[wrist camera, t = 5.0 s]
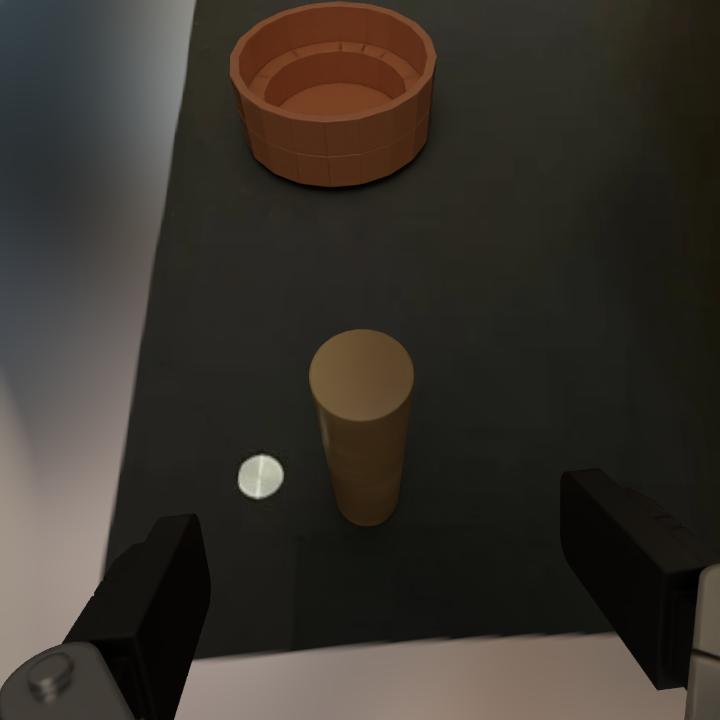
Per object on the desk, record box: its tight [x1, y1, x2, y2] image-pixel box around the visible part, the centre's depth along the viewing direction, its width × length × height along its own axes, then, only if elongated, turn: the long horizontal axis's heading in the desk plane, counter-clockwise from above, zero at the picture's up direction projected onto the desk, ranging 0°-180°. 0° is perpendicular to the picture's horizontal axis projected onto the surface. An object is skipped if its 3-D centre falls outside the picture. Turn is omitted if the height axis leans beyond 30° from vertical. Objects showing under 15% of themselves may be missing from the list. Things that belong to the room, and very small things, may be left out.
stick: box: [309, 329, 414, 527], centre depth 20 cm, size 3×3×12 cm
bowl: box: [230, 2, 437, 187], centre depth 37 cm, size 13×13×6 cm
